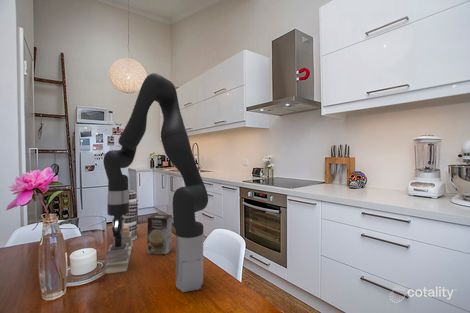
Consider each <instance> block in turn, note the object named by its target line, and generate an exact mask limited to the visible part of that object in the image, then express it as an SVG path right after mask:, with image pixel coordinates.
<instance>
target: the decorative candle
mask: <svg viewBox="0 0 470 313" xmlns="http://www.w3.org/2000/svg"><path fill="white" fill-rule="evenodd" d="M128 191H129V213H127V214H125V215H123V217H124V218H125V221H124V226H125V225H129V232H132V241H134V240H136V239H137V238H138V230H137V228H138V223H137V215H138V211H137V209H138V206H139V204H138V203H137V202H138V199H137V193H138V192H137V191H135V189H133V188H132V189H131V188H128ZM135 238H136V239H135Z"/></svg>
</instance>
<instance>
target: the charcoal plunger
mask: <svg viewBox="0 0 470 313" xmlns="http://www.w3.org/2000/svg"><path fill="white" fill-rule="evenodd" d="M112 245H113V246H112V248H111V250H118V249H125V243H122V245H121V246H119V247H115V244H112Z"/></svg>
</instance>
